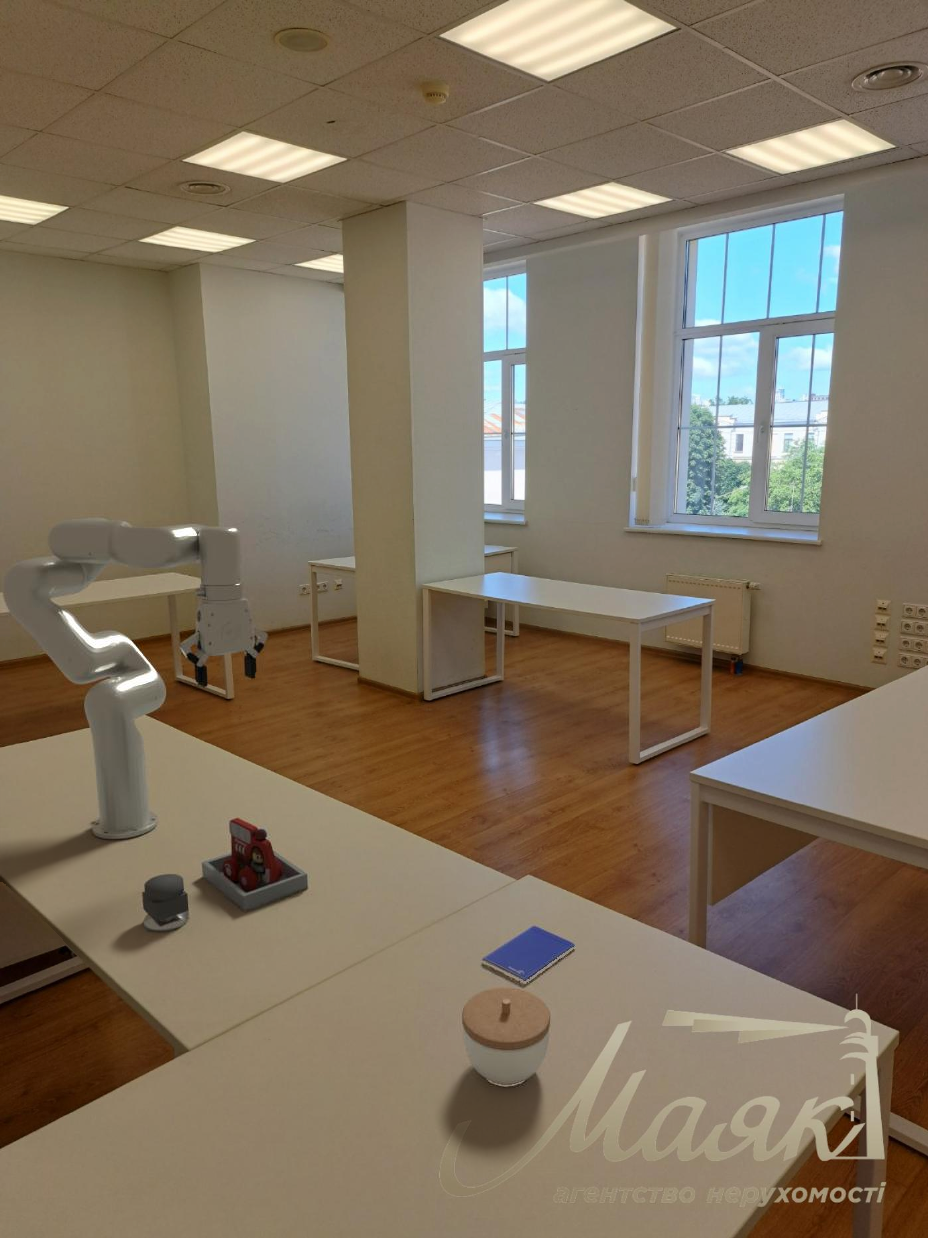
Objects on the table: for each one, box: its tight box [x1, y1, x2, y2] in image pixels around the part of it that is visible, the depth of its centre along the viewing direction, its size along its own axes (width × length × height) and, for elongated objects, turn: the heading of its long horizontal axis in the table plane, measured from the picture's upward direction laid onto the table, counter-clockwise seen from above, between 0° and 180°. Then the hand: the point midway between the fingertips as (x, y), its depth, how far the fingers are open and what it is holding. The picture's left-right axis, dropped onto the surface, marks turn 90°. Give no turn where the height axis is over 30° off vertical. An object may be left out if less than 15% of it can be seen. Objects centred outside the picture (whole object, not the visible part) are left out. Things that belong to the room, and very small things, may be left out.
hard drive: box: [481, 925, 576, 981], centre depth 130 cm, size 2×8×12 cm
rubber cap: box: [141, 873, 189, 922], centre depth 139 cm, size 6×6×5 cm
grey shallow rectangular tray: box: [201, 850, 309, 913], centre depth 153 cm, size 17×12×3 cm
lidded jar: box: [461, 987, 551, 1085], centre depth 104 cm, size 11×11×9 cm
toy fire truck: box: [222, 817, 282, 892], centre depth 152 cm, size 7×12×10 cm, turn 47°
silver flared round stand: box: [143, 911, 190, 933], centre depth 140 cm, size 7×7×5 cm
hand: (226, 681), depth 163 cm, fingers open, 9 cm apart
